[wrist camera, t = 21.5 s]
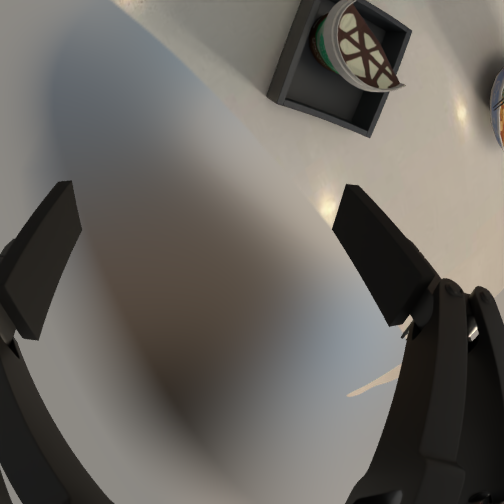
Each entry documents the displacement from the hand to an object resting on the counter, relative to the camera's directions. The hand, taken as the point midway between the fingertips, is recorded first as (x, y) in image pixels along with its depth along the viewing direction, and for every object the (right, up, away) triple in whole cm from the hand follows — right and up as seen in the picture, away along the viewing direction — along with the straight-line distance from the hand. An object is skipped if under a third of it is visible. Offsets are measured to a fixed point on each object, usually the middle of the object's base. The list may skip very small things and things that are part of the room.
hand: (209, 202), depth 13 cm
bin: (+13, +24, +18) cm, 32 cm away
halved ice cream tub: (+12, +24, +17) cm, 31 cm away
